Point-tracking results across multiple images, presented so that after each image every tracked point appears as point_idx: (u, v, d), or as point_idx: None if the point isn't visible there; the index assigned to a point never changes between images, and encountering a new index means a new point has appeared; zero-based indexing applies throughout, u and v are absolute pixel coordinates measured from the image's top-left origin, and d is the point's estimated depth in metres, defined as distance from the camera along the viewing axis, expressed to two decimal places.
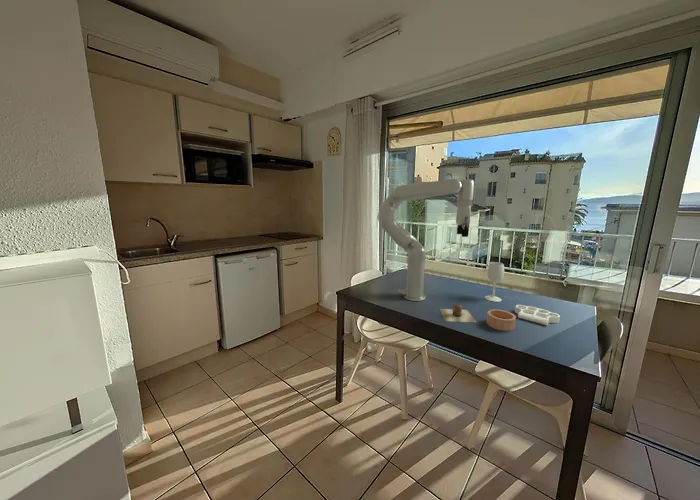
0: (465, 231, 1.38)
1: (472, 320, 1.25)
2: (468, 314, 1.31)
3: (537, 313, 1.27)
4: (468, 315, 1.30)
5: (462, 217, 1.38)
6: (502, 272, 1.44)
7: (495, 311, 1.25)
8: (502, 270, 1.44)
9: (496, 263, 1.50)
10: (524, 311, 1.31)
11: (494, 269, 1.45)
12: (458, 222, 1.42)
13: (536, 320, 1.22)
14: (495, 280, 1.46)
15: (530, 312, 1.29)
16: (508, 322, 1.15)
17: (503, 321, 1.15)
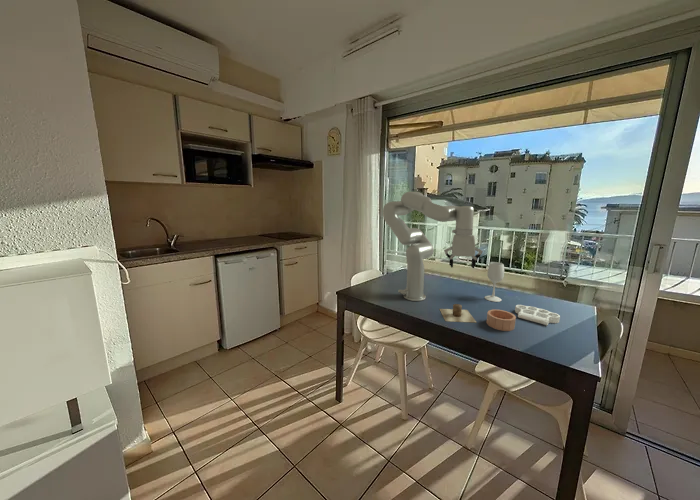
0: None
1: (472, 320, 1.25)
2: (468, 314, 1.31)
3: (537, 313, 1.27)
4: (468, 315, 1.30)
5: (475, 247, 1.25)
6: (502, 272, 1.44)
7: (495, 311, 1.25)
8: (503, 270, 1.44)
9: (496, 263, 1.50)
10: (524, 311, 1.31)
11: (494, 269, 1.45)
12: (466, 254, 1.25)
13: (536, 320, 1.22)
14: (495, 280, 1.46)
15: (530, 312, 1.29)
16: (508, 322, 1.15)
17: (503, 321, 1.15)
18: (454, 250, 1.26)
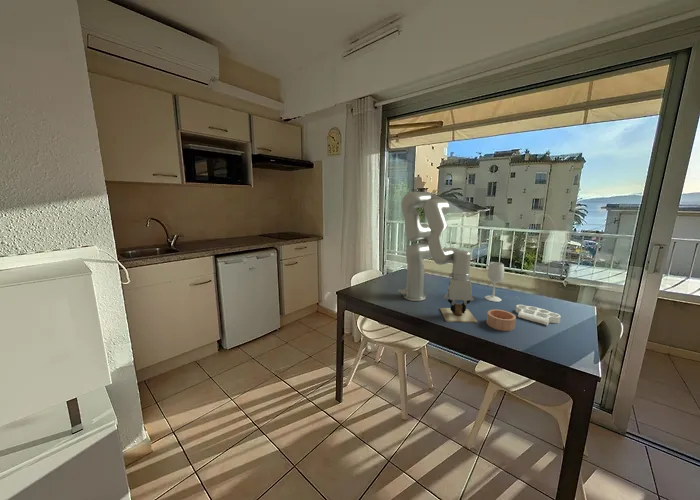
0: None
1: (473, 319, 1.25)
2: (469, 313, 1.31)
3: (537, 313, 1.27)
4: (469, 314, 1.30)
5: None
6: (502, 272, 1.44)
7: (495, 311, 1.25)
8: (503, 270, 1.44)
9: (496, 263, 1.50)
10: (525, 311, 1.31)
11: (494, 269, 1.45)
12: (463, 298, 1.26)
13: (536, 320, 1.22)
14: (495, 280, 1.46)
15: (531, 312, 1.30)
16: (508, 322, 1.15)
17: (503, 321, 1.15)
18: (451, 294, 1.26)
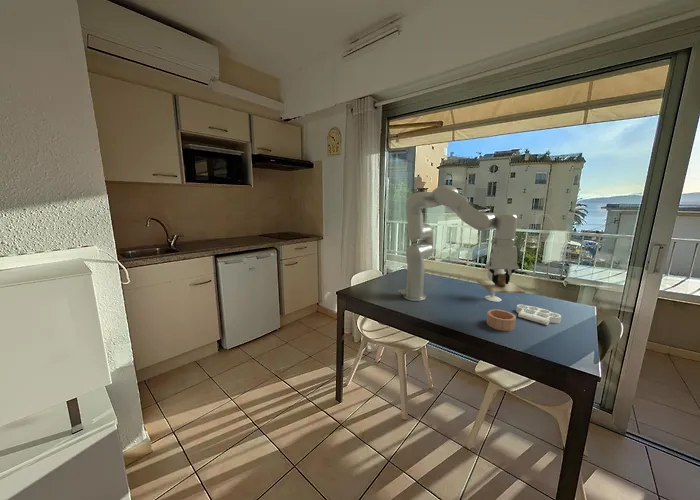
0: None
1: (519, 289, 1.12)
2: (512, 284, 1.19)
3: (538, 313, 1.27)
4: (513, 285, 1.18)
5: None
6: (502, 272, 1.44)
7: (495, 311, 1.25)
8: (503, 270, 1.44)
9: None
10: (525, 311, 1.31)
11: None
12: (508, 266, 1.14)
13: (536, 320, 1.22)
14: None
15: (531, 312, 1.30)
16: (508, 322, 1.15)
17: (503, 321, 1.15)
18: (494, 262, 1.14)
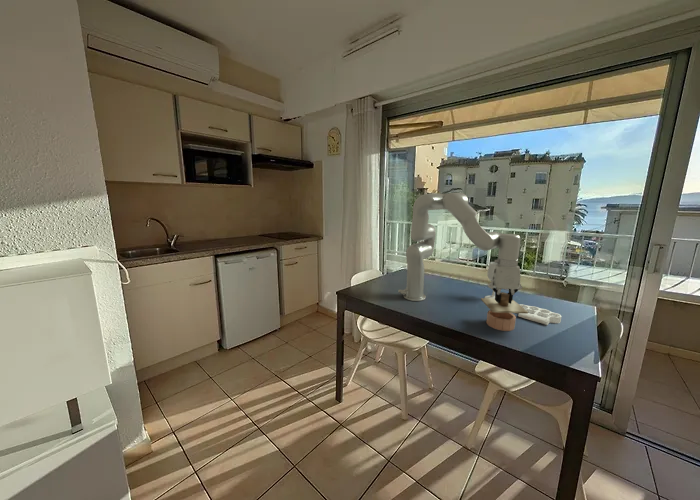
0: None
1: (522, 309, 1.13)
2: (515, 303, 1.20)
3: (538, 313, 1.27)
4: (516, 304, 1.18)
5: None
6: None
7: None
8: None
9: (496, 263, 1.50)
10: None
11: None
12: (511, 286, 1.14)
13: (536, 319, 1.22)
14: None
15: (531, 312, 1.30)
16: (508, 322, 1.15)
17: (503, 321, 1.15)
18: (497, 282, 1.15)
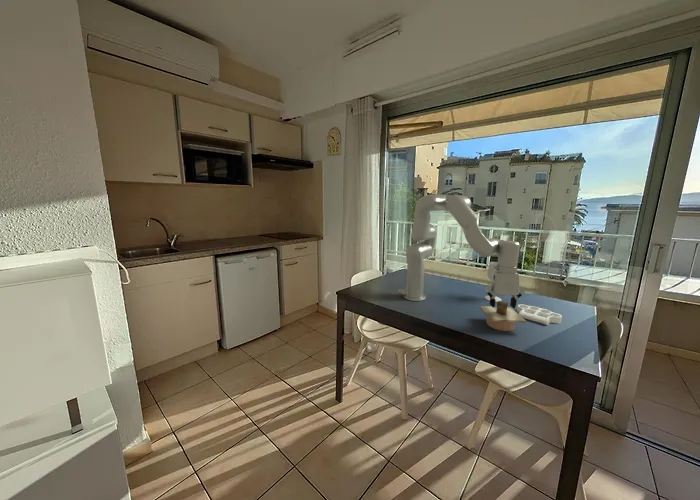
0: None
1: (520, 318, 1.14)
2: (513, 312, 1.21)
3: (539, 313, 1.27)
4: (514, 313, 1.19)
5: None
6: None
7: None
8: None
9: (496, 263, 1.50)
10: (526, 310, 1.31)
11: (494, 269, 1.45)
12: (510, 293, 1.15)
13: (536, 319, 1.23)
14: None
15: (532, 312, 1.30)
16: (508, 322, 1.15)
17: None
18: (497, 289, 1.15)
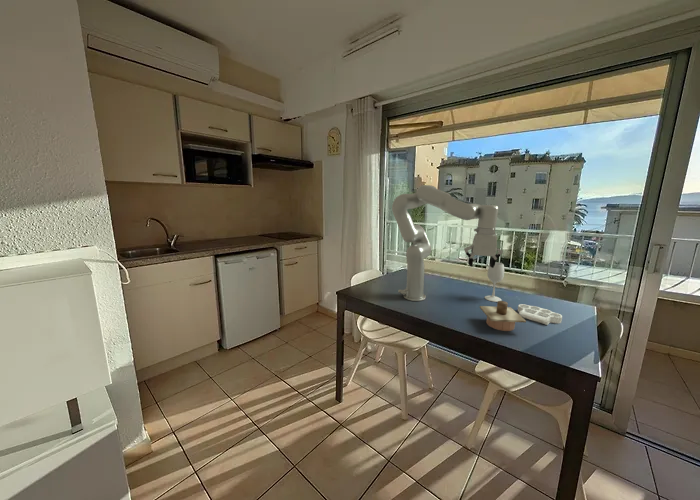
0: None
1: (520, 318, 1.14)
2: (513, 312, 1.21)
3: (539, 313, 1.28)
4: (514, 313, 1.19)
5: None
6: (502, 272, 1.44)
7: None
8: (503, 270, 1.44)
9: (496, 263, 1.50)
10: (526, 310, 1.31)
11: (494, 269, 1.45)
12: (488, 253, 1.24)
13: (536, 319, 1.23)
14: (495, 280, 1.46)
15: (532, 311, 1.30)
16: (508, 322, 1.15)
17: None
18: (475, 249, 1.25)
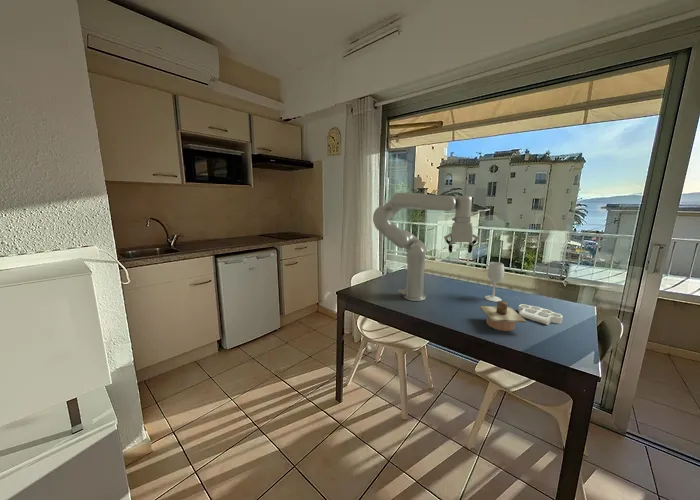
0: None
1: (520, 318, 1.14)
2: (513, 312, 1.21)
3: (539, 313, 1.28)
4: (514, 313, 1.19)
5: None
6: (502, 272, 1.44)
7: None
8: (503, 270, 1.44)
9: (496, 263, 1.50)
10: (527, 310, 1.31)
11: (494, 269, 1.45)
12: (465, 240, 1.37)
13: (536, 319, 1.23)
14: (495, 280, 1.46)
15: (533, 311, 1.30)
16: (508, 322, 1.15)
17: None
18: (454, 236, 1.37)
